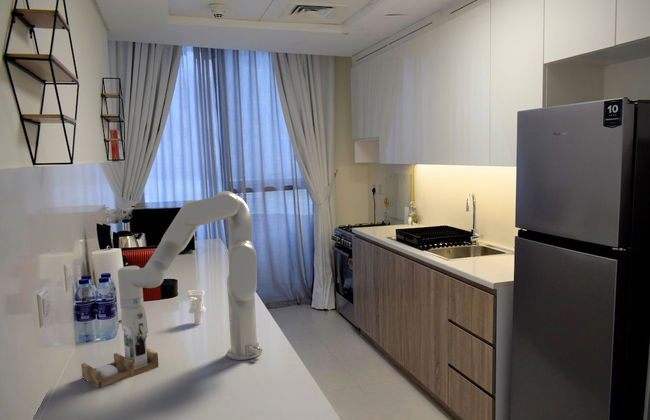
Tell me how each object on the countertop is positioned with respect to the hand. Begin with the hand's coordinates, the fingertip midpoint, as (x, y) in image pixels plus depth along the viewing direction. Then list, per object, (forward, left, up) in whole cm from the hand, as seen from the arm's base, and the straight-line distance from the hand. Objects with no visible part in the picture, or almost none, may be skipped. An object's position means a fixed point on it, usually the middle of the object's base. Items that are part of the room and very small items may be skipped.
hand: (136, 352), depth 178 cm
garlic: (+1, +10, -6) cm, 12 cm away
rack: (0, +5, -5) cm, 7 cm away
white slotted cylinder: (+23, -41, -6) cm, 47 cm away
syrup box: (0, 0, -5) cm, 5 cm away
